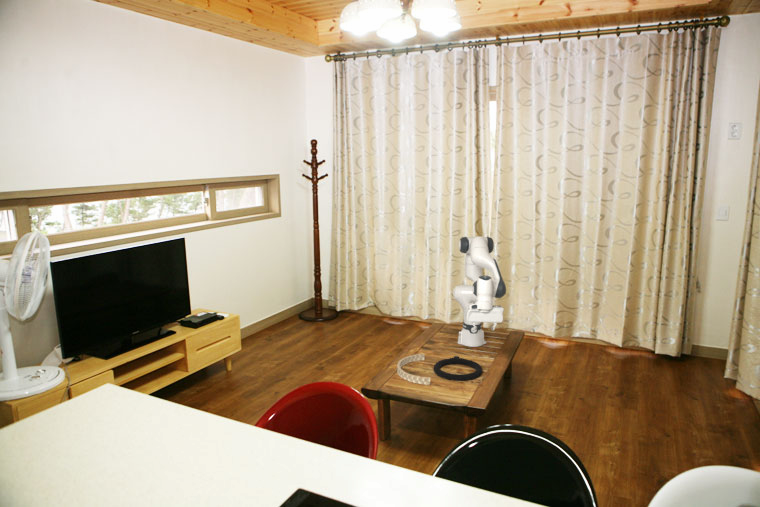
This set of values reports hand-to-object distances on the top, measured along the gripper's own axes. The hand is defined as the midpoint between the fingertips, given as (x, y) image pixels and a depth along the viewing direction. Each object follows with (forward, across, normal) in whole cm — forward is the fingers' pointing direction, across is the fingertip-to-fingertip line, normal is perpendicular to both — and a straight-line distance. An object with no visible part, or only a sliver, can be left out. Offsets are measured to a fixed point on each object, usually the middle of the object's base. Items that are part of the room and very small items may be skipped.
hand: (484, 329), depth 288 cm
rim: (+25, +40, -3) cm, 47 cm away
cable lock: (+26, +14, -5) cm, 30 cm away
